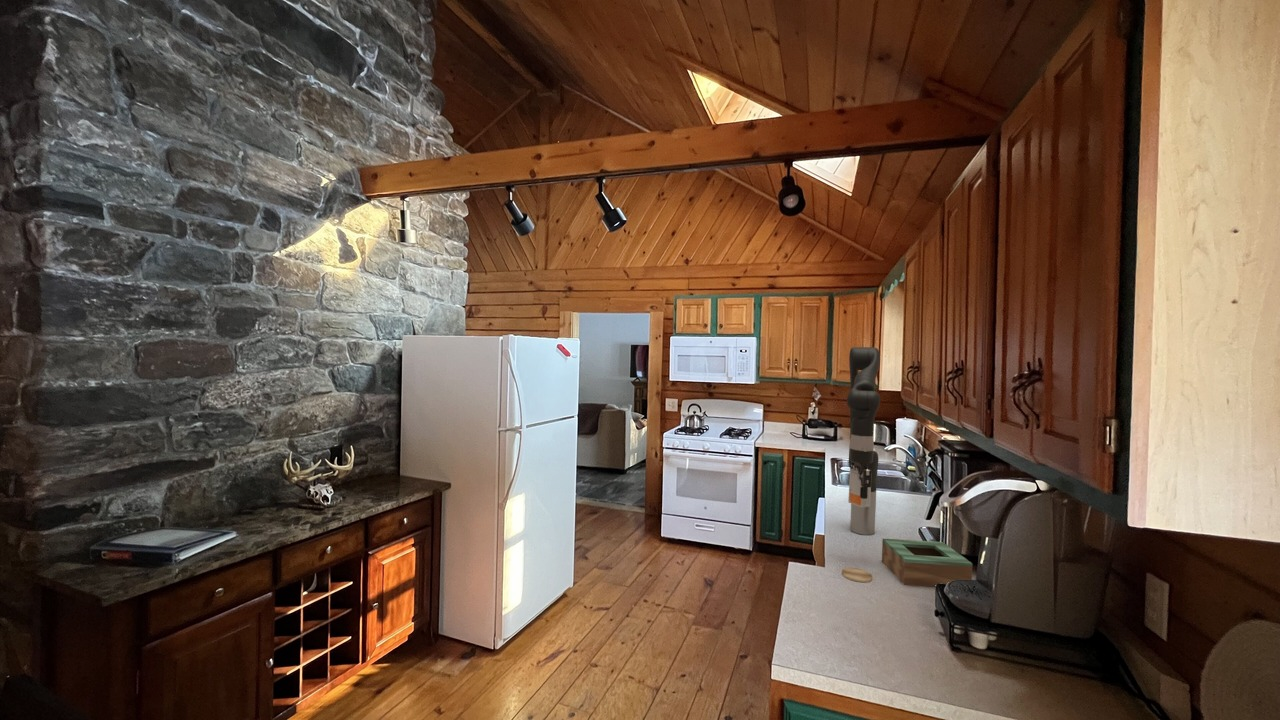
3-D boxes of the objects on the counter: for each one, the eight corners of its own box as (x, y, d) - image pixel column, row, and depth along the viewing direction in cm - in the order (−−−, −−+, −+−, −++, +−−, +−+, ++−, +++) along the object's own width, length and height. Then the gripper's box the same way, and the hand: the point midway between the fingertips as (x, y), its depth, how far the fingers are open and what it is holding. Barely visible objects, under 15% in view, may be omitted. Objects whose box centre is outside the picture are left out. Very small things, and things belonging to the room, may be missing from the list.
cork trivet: (838, 569, 169) (838, 566, 169) (866, 571, 168) (866, 568, 168) (847, 581, 160) (847, 578, 160) (876, 583, 159) (876, 580, 159)
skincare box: (847, 502, 179) (849, 469, 179) (856, 501, 181) (858, 468, 181) (861, 507, 173) (863, 473, 173) (870, 506, 175) (872, 472, 175)
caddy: (881, 561, 177) (882, 538, 177) (941, 565, 175) (942, 542, 175) (904, 584, 159) (905, 559, 159) (971, 589, 157) (972, 563, 157)
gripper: (844, 443, 184) (842, 489, 185) (857, 451, 170) (855, 500, 170) (865, 444, 184) (863, 490, 184) (880, 452, 169) (878, 501, 170)
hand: (859, 495), depth 177 cm, fingers closed on skincare box, 7 cm apart
